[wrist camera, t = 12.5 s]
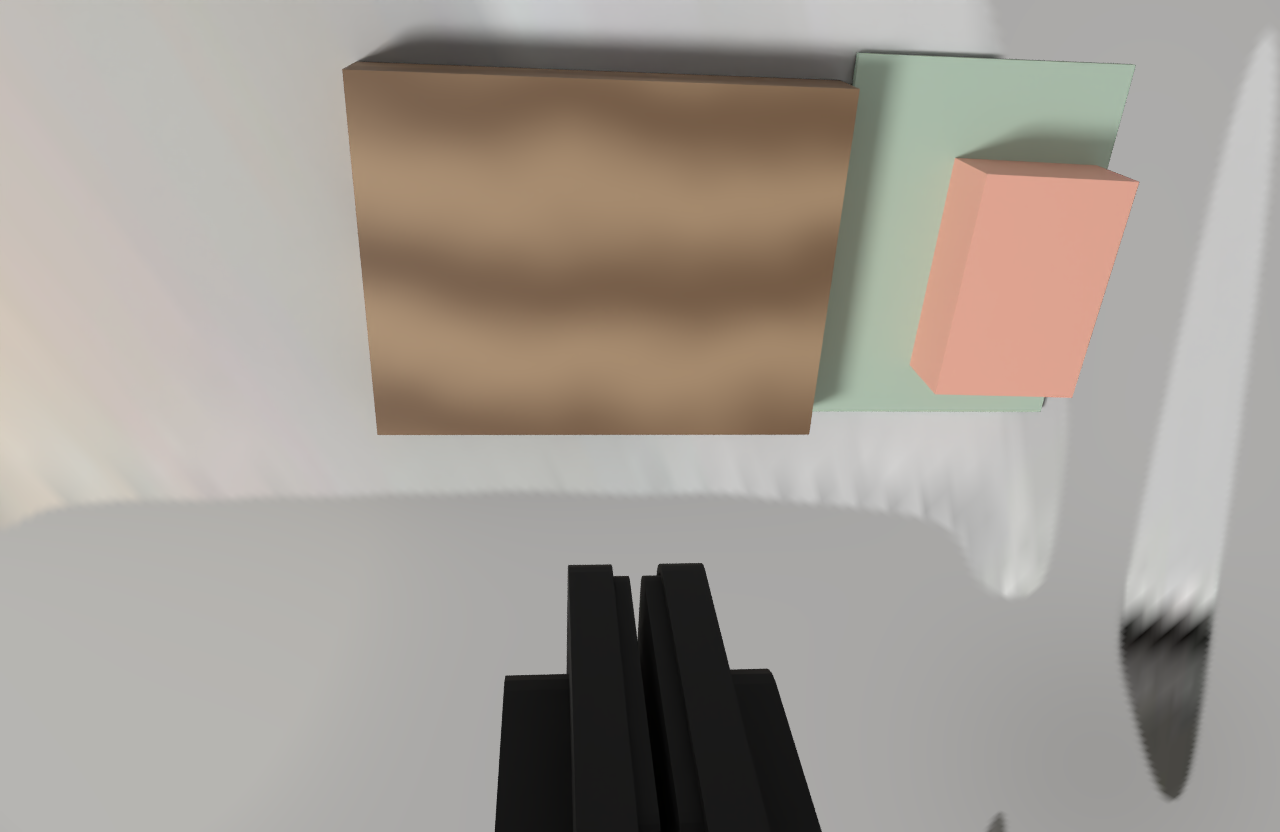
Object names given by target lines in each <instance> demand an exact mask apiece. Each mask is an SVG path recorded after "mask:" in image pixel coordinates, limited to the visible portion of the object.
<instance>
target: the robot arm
mask: <svg viewBox="0 0 1280 832" xmlns="http://www.w3.org/2000/svg"><path fill="white" fill-rule="evenodd" d="M638 626H639V627H638V642H637V634H636V626H635V618H634V610H633V602H632V594H631V586H630V579H629V576H613V571H612V565H569V566H568V602H567V674H552V675H551V674H550V675H513V676H505V682H504V696H503V711H502V727H501V743H500V759H499V776H498V790H497V805H496V821H495V832H822V831H821V828H820V825H819V822H818V818H817V815H816V812H815V808H814V805H813V802H812V799H811V796H810V792H809V789H808V786H807V782H806V779H805V776H804V773H803V769H802V766H801V763H800V760H799V757H798V753H797V750H796V747H795V743H794V740H793V737H792V734H791V731H790V727H789V724H788V721H787V717H786V715H785V711H784V708H783V705H782V702H781V698H780V695H779V691H778V689H777V685H776V682H775V680H774V677H773V675H772V673H771V672H770V670H769V669H738V670H730V668H729V664H728V660H727V656H726V652H725V648H724V644H723V640H722V636H721V632H720V628H719V624H718V620H717V616H716V612H715V608H714V604H713V600H712V596H711V592H710V588H709V584H708V580H707V576H706V572H705V568H704V565H703V564H702V563H685V564H684V563H681V564H659V565H658V568H657V576H642V579H641V590H640V607H639V624H638Z"/></svg>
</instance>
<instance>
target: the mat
mask: <svg viewBox="0 0 1280 832" xmlns="http://www.w3.org/2000/svg"><path fill="white" fill-rule="evenodd" d="M1135 66H1136V65H1133V64H1114V63H1113V64H1112V63H1091V62H1067V61H1066V62H1065V61H1041V60H1019V59H995V58H971V57H947V56H923V55H900V54H876V53H857V55H856V62H855V69H854V76H853V83H852V86H854V87H856V88H859V89H860V92H859V99H858V105H857V112H856V119H855V126H854V132H853V139H852V146H851V153H850V160H849V166H848V173H847V180H846V187H845V193H844V200H843V207H842V214H841V221H840V227H839V234H838V241H837V248H836V254H835V261H834V268H833V275H832V282H831V288H830V295H829V302H828V309H827V316H826V322H825V329H824V336H823V343H822V349H821V356H820V363H819V370H818V377H817V383H816V390H815V397H814V404H813V410H812V411H885V412H1041V408H1042V404H1043V401H1044V397H1025V396H983V395H940V394H934V393H933V391H932V390H931V389H930V388H929V387H928V386H927V384H926V383H925V382H924V381H923V380H922V379H921V378H920V376H919V375H918V374H917V373H916V372H915V371H914V369H913V368H912V367H911V366H910V361H911V356H912V352H913V347H914V343H915V338H916V334H917V329H918V324H919V320H920V315H921V311H922V306H923V302H924V297H925V293H926V288H927V283H928V279H929V274H930V270H931V265H932V261H933V256H934V251H935V247H936V242H937V238H938V233H939V229H940V224H941V219H942V215H943V210H944V206H945V201H946V197H947V192H948V187H949V183H950V178H951V174H952V169H953V165H954V160H955V158H969V159H988V160H1006V161H1025V162H1044V163H1063V164H1082V165H1097V166H1100V167H1102V168H1105V169H1107V168H1108V164H1109V161H1110V157H1111V153H1112V150H1113V146H1114V142H1115V139H1116V135H1117V131H1118V128H1119V124H1120V121H1121V117H1122V113H1123V110H1124V106H1125V102H1126V99H1127V95H1128V92H1129V88H1130V84H1131V80H1132V77H1133V73H1134V70H1135Z"/></svg>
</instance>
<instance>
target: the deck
mask: <svg viewBox="0 0 1280 832" xmlns="http://www.w3.org/2000/svg"><path fill="white" fill-rule="evenodd" d="M342 71H343V82H344V92H345V102H346V113H347V123H348V133H349V144H350V154H351V164H352V175H353V185H354V195H355V206H356V216H357V227H358V237H359V247H360V258H361V268H362V278H363V289H364V299H365V309H366V320H367V330H368V341H369V351H370V361H371V372H372V382H373V392H374V403H375V413H376V423H377V434H378V435H799V434H809V431H810V424H811V417H812V410H813V404H814V397H815V390H816V383H817V377H818V370H819V363H820V356H821V349H822V343H823V336H824V329H825V322H826V316H827V309H828V302H829V295H830V288H831V282H832V275H833V268H834V261H835V254H836V248H837V241H838V234H839V227H840V221H841V214H842V207H843V200H844V193H845V187H846V180H847V173H848V166H849V160H850V153H851V146H852V139H853V132H854V126H855V119H856V112H857V105H858V99H859V92H860V89H859V88H856V87H854V86H852V85H850V84H847V83H845V82H843V81H841V80H820V79H795V78H769V77H743V76H717V75H691V74H666V73H640V72H614V71H588V70H562V69H536V68H511V67H485V66H459V65H433V64H407V63H381V62H355V63H353V64H351V65H349V66H348V67H346V68H344V69H342Z"/></svg>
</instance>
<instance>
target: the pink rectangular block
mask: <svg viewBox="0 0 1280 832" xmlns="http://www.w3.org/2000/svg"><path fill="white" fill-rule="evenodd" d="M1138 185H1139V182H1138V181H1136V180H1133V179H1130V178H1128V177H1125V176H1123V175H1120V174H1118V173H1115V172H1112V171H1110V170H1107V169H1105V168H1102V167H1100V166H1097V165H1082V164H1063V163H1044V162H1025V161H1006V160H988V159H969V158H955V160H954V165H953V169H952V174H951V178H950V183H949V187H948V192H947V197H946V201H945V206H944V210H943V215H942V219H941V224H940V229H939V233H938V238H937V242H936V247H935V251H934V256H933V261H932V265H931V270H930V274H929V279H928V283H927V288H926V293H925V297H924V302H923V306H922V311H921V315H920V320H919V324H918V329H917V334H916V338H915V343H914V347H913V352H912V356H911V361H910V366H911V367H912V368H913V369H914V371H915V372H916V373H917V374H918V375H919V376H920V378H921V379H922V380H923V381H924V382H925V383H926V384H927V386H928V387H929V388H930V389H931V390H932V391H933V393H934V394H940V395H983V396H1025V397H1067V398H1072V396H1073V393H1074V390H1075V386H1076V383H1077V380H1078V376H1079V373H1080V370H1081V367H1082V364H1083V361H1084V358H1085V354H1086V351H1087V348H1088V345H1089V342H1090V338H1091V335H1092V332H1093V329H1094V326H1095V322H1096V319H1097V316H1098V313H1099V310H1100V306H1101V303H1102V300H1103V297H1104V294H1105V290H1106V287H1107V284H1108V281H1109V278H1110V274H1111V271H1112V268H1113V265H1114V261H1115V258H1116V255H1117V252H1118V249H1119V245H1120V242H1121V239H1122V236H1123V232H1124V229H1125V226H1126V223H1127V220H1128V217H1129V213H1130V210H1131V207H1132V204H1133V201H1134V197H1135V194H1136V191H1137V188H1138Z"/></svg>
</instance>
